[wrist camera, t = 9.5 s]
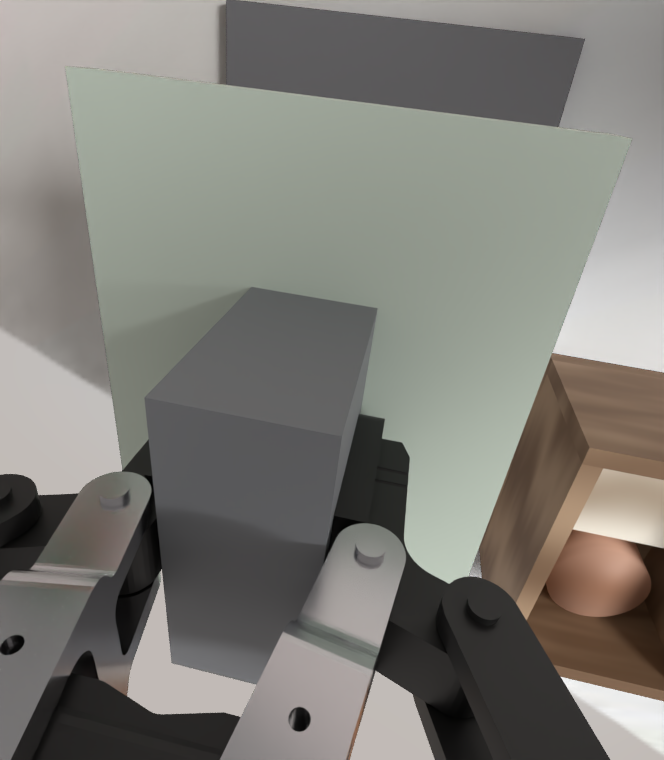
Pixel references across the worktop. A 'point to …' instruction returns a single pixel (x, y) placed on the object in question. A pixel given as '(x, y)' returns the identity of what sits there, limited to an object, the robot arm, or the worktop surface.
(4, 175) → the worktop surface
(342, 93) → the rubber mat
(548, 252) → the lid
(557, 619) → the walnut box
